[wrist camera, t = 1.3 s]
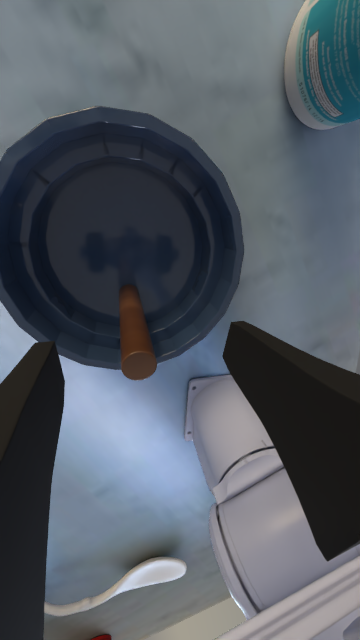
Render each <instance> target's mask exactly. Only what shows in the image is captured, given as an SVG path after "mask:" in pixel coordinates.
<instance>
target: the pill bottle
mask: <svg viewBox="0 0 360 640" xmlns="http://www.w3.org/2000/svg"><path fill="white" fill-rule="evenodd" d="M284 81H285V89H286V94H287V97H288V101H289V104H290V106H291V108H292V110H293V112H294V114H295V115H296V116H297V118H298V119H299V120H300V121H301V122H302V123H303V124H305V125H306V126H308V127H310V128H313V129H318V130H326V129H332V128H335V127H338V126H340V125H344V124H347V123H349V122H352V121H355V120H357V119H360V0H306V1H305V3H304V4H303V6H302V8H301V9H300V11H299V13H298V15H297V17H296V19H295V22H294V24H293V27H292V29H291V33H290V36H289V39H288V43H287V48H286V54H285V62H284Z"/></svg>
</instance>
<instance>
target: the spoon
mask: <svg viewBox="0 0 360 640" xmlns="http://www.w3.org/2000/svg"><path fill="white" fill-rule="evenodd" d="M186 569H187V567H186V563H185V562H184V561H183V560H181V559H178V558H173V557H156V558H151V559H148V560H146V561H144V562H142V563H140V564H139V565H137V566H135V567H134V568H133V569H131V570H130V571H129V572H128V573H126V574H125V575H124V576H123V577H122V578H121V579H120V580H119V581H118V582H117V583H116V584H114V585H113V586H112V587H111V588H110V589H108V590H107V591H105V592H104V593H102V594H100V595H98V596H95V597H91V598H88V597H87V598H84V599H83V600H80V601H77V602H74V603H71V604H67V605H55V604H51V603H48V602H46V601H44V612H45V613H47V614H50V615H54V616H66V615H70V614H73V613H77V612H81V611H87V610H89V609H90V608H93V607H95V606H98V605H100V604H102V603H103V602H105V601H107V600H108V599H110V598H111V597H113V596H115V595H117V594H119V593H121V592H124V591H127V590H131V589H135V588H139V587H143V586H146V585H151V584H156V583H162V582H167V581H171V580H174V579H177V578H179V577H181V576H183V575H184V574H185V572H186Z"/></svg>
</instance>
